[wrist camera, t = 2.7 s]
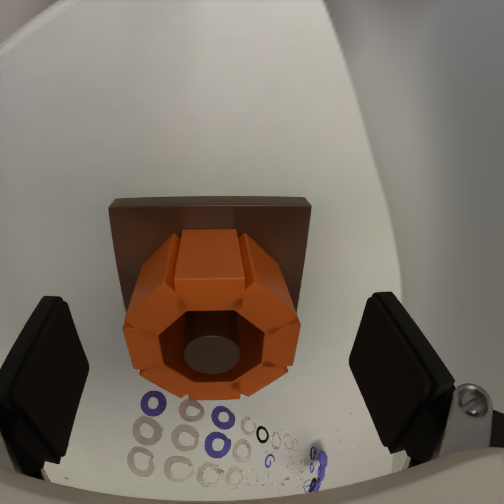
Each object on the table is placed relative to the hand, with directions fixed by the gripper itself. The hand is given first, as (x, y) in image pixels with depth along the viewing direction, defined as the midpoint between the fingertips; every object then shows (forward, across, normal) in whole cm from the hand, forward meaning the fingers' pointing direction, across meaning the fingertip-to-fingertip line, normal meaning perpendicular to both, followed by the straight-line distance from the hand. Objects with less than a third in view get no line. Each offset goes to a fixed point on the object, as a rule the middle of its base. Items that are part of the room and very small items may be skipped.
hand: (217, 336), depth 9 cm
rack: (+7, 0, +2) cm, 8 cm away
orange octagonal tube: (+6, 0, +2) cm, 6 cm away
